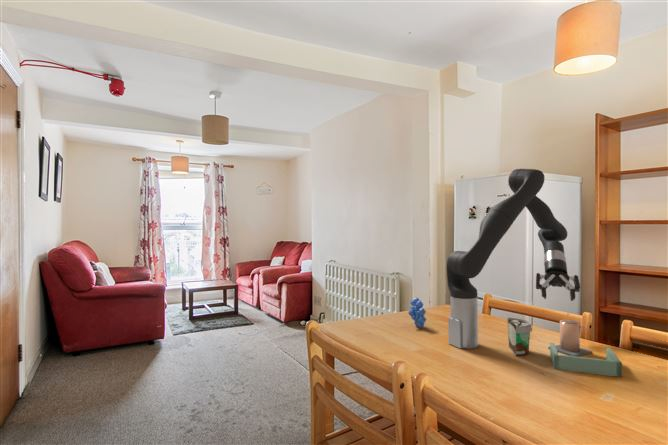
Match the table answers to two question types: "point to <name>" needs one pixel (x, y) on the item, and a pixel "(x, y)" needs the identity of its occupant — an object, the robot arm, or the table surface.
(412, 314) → the grapes
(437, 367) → the table surface
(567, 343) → the brown cylinder
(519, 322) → the food container
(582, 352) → the mat
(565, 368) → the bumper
